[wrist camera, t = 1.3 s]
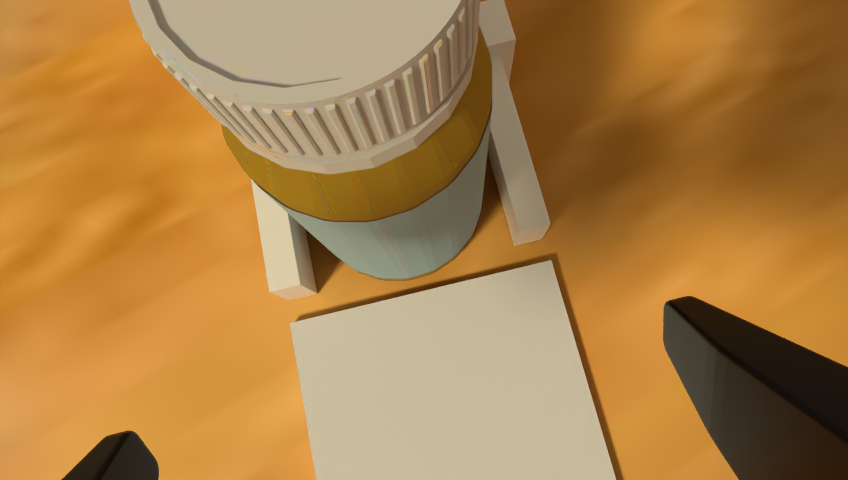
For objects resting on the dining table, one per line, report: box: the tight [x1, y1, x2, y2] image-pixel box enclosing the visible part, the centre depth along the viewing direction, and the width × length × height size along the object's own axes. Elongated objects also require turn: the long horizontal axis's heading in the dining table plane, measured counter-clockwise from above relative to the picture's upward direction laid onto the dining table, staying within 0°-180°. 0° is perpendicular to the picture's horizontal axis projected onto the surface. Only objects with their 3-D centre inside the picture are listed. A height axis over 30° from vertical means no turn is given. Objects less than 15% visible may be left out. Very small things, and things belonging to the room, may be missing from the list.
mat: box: [290, 260, 616, 480], centre depth 21 cm, size 11×11×1 cm
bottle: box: [129, 0, 492, 281], centre depth 16 cm, size 7×7×15 cm
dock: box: [251, 0, 551, 300], centre depth 22 cm, size 9×12×4 cm
